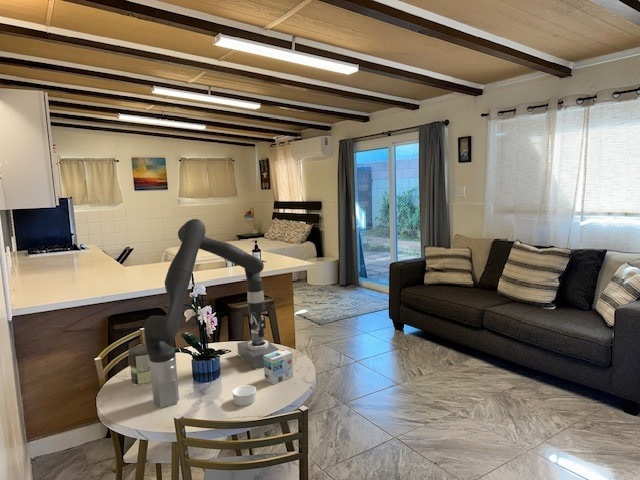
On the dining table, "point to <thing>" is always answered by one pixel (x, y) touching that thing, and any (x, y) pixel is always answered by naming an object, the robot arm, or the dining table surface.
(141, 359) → the coffee can
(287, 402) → the dining table surface
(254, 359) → the camera body
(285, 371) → the light bulb box
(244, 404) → the ramekin
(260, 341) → the lens
